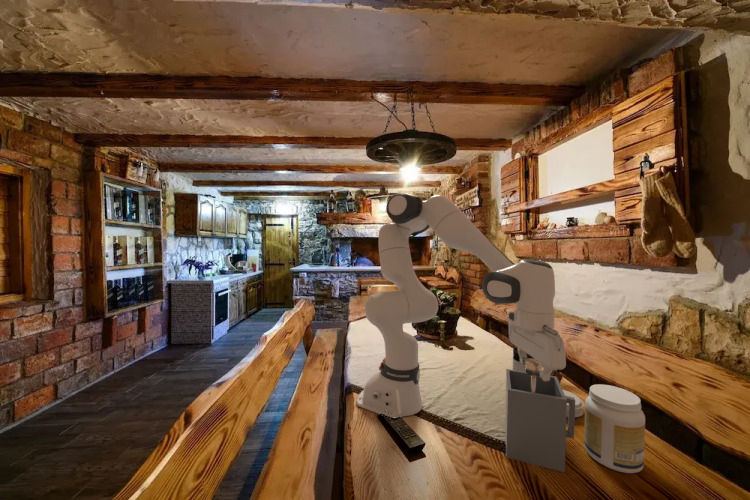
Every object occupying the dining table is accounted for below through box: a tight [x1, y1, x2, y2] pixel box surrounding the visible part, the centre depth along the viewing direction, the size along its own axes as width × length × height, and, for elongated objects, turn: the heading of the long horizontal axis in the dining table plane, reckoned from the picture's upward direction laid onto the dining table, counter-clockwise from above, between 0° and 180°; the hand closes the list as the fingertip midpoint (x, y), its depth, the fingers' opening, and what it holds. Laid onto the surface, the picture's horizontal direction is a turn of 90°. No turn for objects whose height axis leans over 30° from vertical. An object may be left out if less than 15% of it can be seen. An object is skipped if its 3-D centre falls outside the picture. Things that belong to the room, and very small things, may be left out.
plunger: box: [525, 358, 543, 393], centre depth 81 cm, size 10×10×22 cm
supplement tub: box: [583, 383, 646, 474], centre depth 77 cm, size 12×12×17 cm
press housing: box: [504, 368, 576, 473], centre depth 80 cm, size 16×13×18 cm
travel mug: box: [512, 346, 535, 372], centre depth 100 cm, size 6×7×20 cm
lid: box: [562, 389, 585, 418], centre depth 100 cm, size 13×13×5 cm
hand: (533, 371), depth 80 cm, fingers open, 8 cm apart
